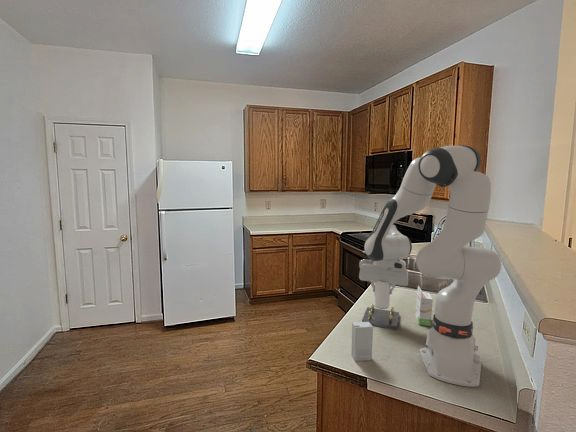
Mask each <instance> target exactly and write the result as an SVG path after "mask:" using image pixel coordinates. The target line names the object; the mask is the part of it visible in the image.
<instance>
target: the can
mask: <svg viewBox="0 0 576 432" xmlns="http://www.w3.org/2000/svg"><path fill="white" fill-rule="evenodd" d="M387 282H388V281H387ZM387 282H383V281H379V280H378V281H377V282H375V283H374V286H375V292H373V304H374V308H376V309H382V310H387V309H388V308H389V307H390V299H391V294H390V289H391V287H392V284H388V283H387Z"/></svg>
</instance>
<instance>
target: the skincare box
mask: <svg viewBox="0 0 576 432" xmlns="http://www.w3.org/2000/svg"><path fill="white" fill-rule="evenodd" d="M351 324H352V325H351V356H352V358H353V360H354V362H361V361H362V362H363V361H364V362H365V361H372V360H373V338H374V337H373V335H374V326H373V325H371V324H370V323H369V322H362V321H355V322H354V321H353V322H352V323H351Z"/></svg>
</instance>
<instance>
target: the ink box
mask: <svg viewBox="0 0 576 432" xmlns="http://www.w3.org/2000/svg"><path fill="white" fill-rule="evenodd" d="M433 302H434V299H433V298H432V295H430V293H429V292H425V291H423V290H422V289H421V287H420V286H419V285H417V292H416V302H415V303H416V306H415V319H416V321H417V323H418V325H419V326H427V327H428V326H429V327H432V326H431V325H432V313H433Z"/></svg>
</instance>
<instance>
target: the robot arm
mask: <svg viewBox="0 0 576 432" xmlns="http://www.w3.org/2000/svg"><path fill="white" fill-rule="evenodd" d="M481 164H482V157H481V154H480V152H479V151H478V150H477V149H476V148H474V147H472V146H471V145H463V144H462V145H445V146H441V147H434V148H431V149H429V150H427V151H425V152H424V153H423V154H422V155H421V156H420V157H416V158H414V159H413V160H412V161H411V162H410V164H409V166H408V167H407V169H406V172H405V173H404V176H403V177H402V182H401V184H400V187H399V189H398V190H397V192H396V194H394V196H393V197H391V198H390V199H389V200H388V201H387V202H386V203H385V205H384V207H383V209H381V213H380V214H379V217H378V218H377V220H376V223H375V224H374V227H373V229H372V231H371V233H370V234H369V236H368V237H367V238H366V240H365V242H364V246H363V250H364V253H365V255H366V257H367V258H368V259H365V258H363V259H360V260H359V263H358V267H359V274H358V278H359V280H360V281H365V282H370V286H371V287H372V292H373V293H374V292H375V282H377V281H378V280H379V281H383V282H387V281H388V282H387V283H388V284H391V287H390V295H393V291H394V289H395V288H396V286H400V287H401V286H402V287H407V286H408V285H409V273H408V269H407V263H406V260H403V259H407V258H409V257H410V255H411V253H412V250H413V244H412V241H411V240H410V238H409V237H408V236H407V235H404V234H402V233H401V232H400V231H399V230H398V229H397V225H395V222H396V221H398V220H400V219H401V218H403V217H406V216H410V215H412V214H415V213H418V212H421V211H423V210H424V209H425V208H426V207H427V206H428V205H429V203H430V202H431V199H432V197H433V194H434V191H435V189H436V186H438V187H439V188H446V187H447V188H448V189H449V199H448V203H447V205H448V206H447V210H446V215H445V220H444V224H443V226H442V229H441V231H440V232H439V233H438V235H437V236H436V238H435V239H434V240H432V241H431V242H430V243H429V244H427V245H425V246H423V247H422V248H420V249H419V251H418V252H417V254H416V257H415V263H416V267H417V269H418V272H419V273H421V275H422V276H426V277H429V278H432V279H433V278H434V279H437V280H439V279H440V280H453V282H451V284H450V285H449V286H446V287H444V288H442V289H440V290H439V291H438V292H437V294H436V296H435V309H434V310H435V311H434V314H433V316H432V317H433V318H432V326H431V328H430V329H428V330H427V333H426V343H425V347H421V348H420V349H419V354H420V356H421V359H422V361H423V363H424V365H425V369H426V371H427V374H428V376H430V377H432V378H434V379H436V380H439V381H441V382H444V383H448V384H454V385H456V386H463V387H468V388H469V387H470V388H473V387H474V388H475V387H479V386H480V383H481V375H482V373H481V372H482V361H481V360H480V359H481V355H479V354H475V353H476V352H478V350H479V347H478V346H477V345H476V341H477V339H476V337H475V336H474V335H473V333H474V332H473V331H474V322H473V321H472V320H473V310H474V305H475V301H476V298H477V296H478V294H479V292H480V291H481V290H482V288H484V286H485V285H486V284H488V283H489V282H491V281H492V280H494V279H495V278H497V277H498V275H499V274H500V273H501V270H502V261H501V258H500V256H499V255H498V253H497V252H496V251H495V250H493V249H489V248H485V247H480V246H466V245H467V244H468V243H470V242H473V241H475V240H476V239H478V238H480V237H481V236H482V235H483V234H484V232H485V229H486V223H487V220H488V219H487V218H488V214H489V210H490V203H491V196H492V195H491V193H492V191H491V190H492V188H491V187H492V186H491V184H492V183H491V178H489V176H488V175H486V174H485V173H482V172H481V171H479V169H480V167H481Z"/></svg>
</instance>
